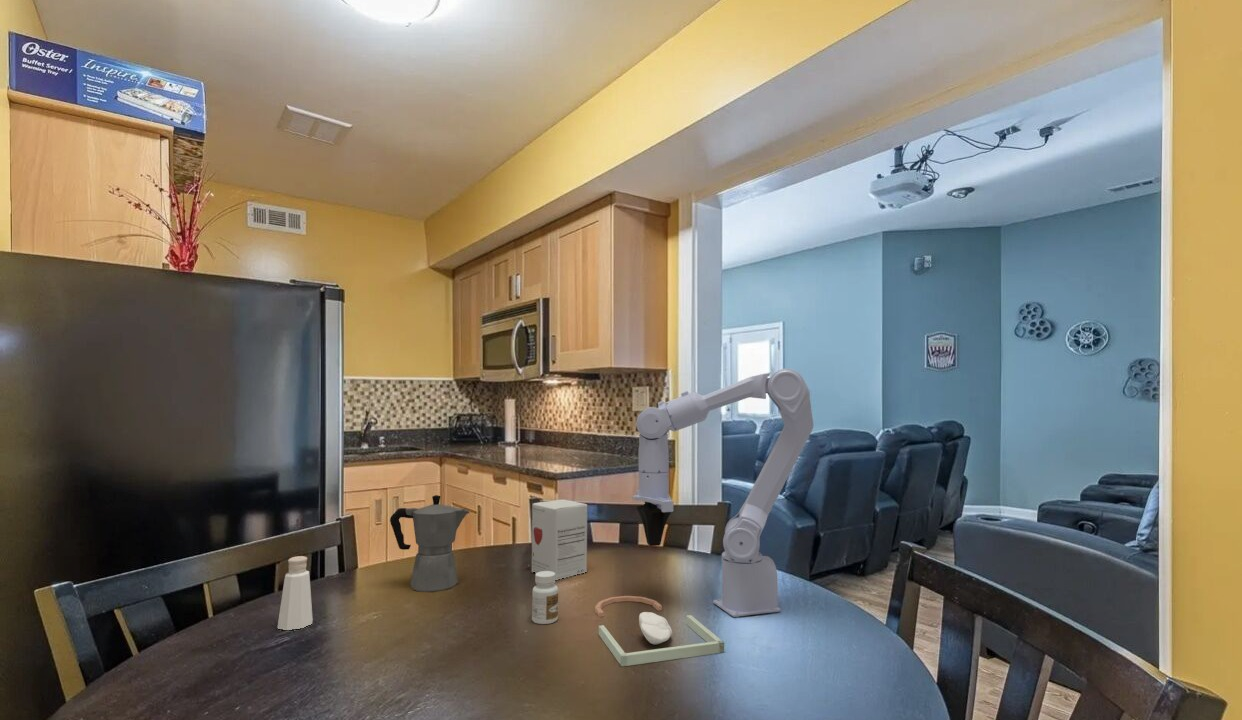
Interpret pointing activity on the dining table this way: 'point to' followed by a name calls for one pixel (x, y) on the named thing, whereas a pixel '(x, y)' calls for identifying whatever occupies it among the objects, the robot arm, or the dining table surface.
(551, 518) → the supplement box
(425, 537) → the coffeepot
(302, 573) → the pepper shaker
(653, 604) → the segmented c-shaped arc
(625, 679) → the dining table surface
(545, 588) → the pill bottle
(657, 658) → the pale green u-frame
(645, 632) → the dumpling
